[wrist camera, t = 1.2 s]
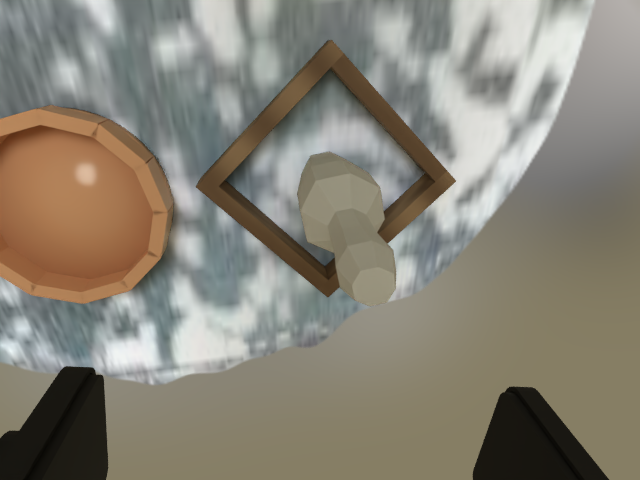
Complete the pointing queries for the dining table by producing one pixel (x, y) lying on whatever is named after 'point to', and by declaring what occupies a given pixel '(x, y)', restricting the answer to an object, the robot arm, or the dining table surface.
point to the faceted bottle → (348, 225)
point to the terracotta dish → (78, 205)
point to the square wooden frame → (303, 81)
